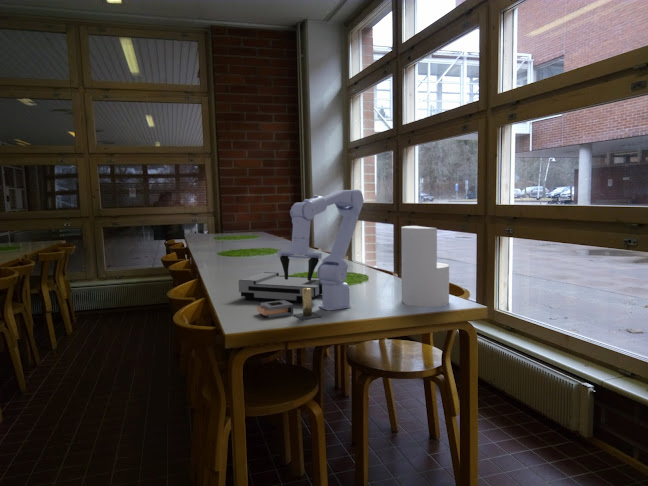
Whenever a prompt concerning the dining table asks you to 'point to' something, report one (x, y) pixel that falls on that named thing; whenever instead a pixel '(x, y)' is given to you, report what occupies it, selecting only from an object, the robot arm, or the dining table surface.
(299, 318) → the rubber mat
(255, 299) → the game console
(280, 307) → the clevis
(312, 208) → the robot arm
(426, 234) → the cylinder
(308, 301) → the brass peg
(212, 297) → the dining table surface
